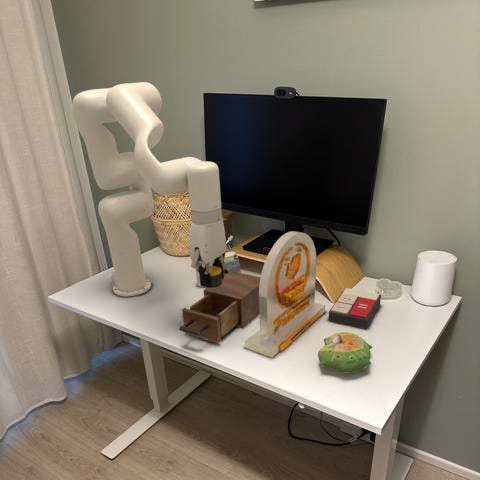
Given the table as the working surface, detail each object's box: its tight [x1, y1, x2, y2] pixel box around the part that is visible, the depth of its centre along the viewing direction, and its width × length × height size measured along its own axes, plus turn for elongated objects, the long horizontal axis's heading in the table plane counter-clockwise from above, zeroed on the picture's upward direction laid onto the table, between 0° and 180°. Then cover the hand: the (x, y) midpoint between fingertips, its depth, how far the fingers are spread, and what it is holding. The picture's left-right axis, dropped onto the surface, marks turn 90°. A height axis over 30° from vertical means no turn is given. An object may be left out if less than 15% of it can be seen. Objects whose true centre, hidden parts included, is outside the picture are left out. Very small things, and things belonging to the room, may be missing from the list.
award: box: [244, 230, 326, 359], centre depth 119 cm, size 28×9×28 cm, turn 143°
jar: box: [209, 266, 222, 288], centre depth 120 cm, size 5×5×4 cm
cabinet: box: [203, 271, 261, 328], centre depth 134 cm, size 15×13×9 cm
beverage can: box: [222, 251, 242, 276], centre depth 147 cm, size 6×7×12 cm
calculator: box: [328, 287, 382, 330], centre depth 131 cm, size 11×4×15 cm
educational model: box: [317, 331, 373, 374], centre depth 111 cm, size 13×16×5 cm
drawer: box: [178, 294, 240, 344], centre depth 124 cm, size 18×11×7 cm, turn 148°
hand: (212, 281), depth 120 cm, fingers closed on jar, 5 cm apart
